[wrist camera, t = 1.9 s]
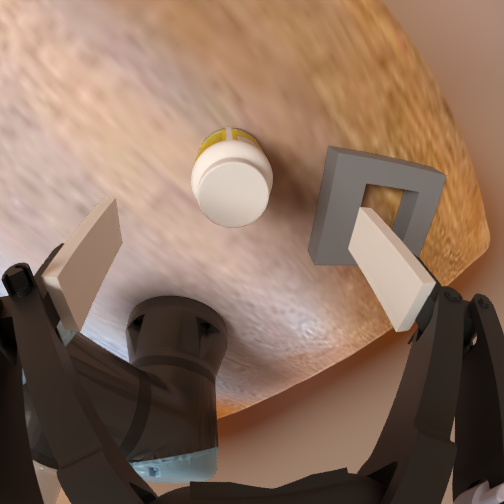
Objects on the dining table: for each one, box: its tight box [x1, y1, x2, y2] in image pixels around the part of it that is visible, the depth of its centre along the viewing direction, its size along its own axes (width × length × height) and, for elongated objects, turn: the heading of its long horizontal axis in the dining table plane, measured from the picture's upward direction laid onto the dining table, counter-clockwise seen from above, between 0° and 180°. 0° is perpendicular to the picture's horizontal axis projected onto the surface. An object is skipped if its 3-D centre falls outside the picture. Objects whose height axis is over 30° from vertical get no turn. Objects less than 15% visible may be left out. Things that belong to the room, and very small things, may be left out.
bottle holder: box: [308, 146, 446, 265], centre depth 30 cm, size 13×15×3 cm
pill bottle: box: [191, 127, 273, 228], centre depth 22 cm, size 6×6×11 cm
